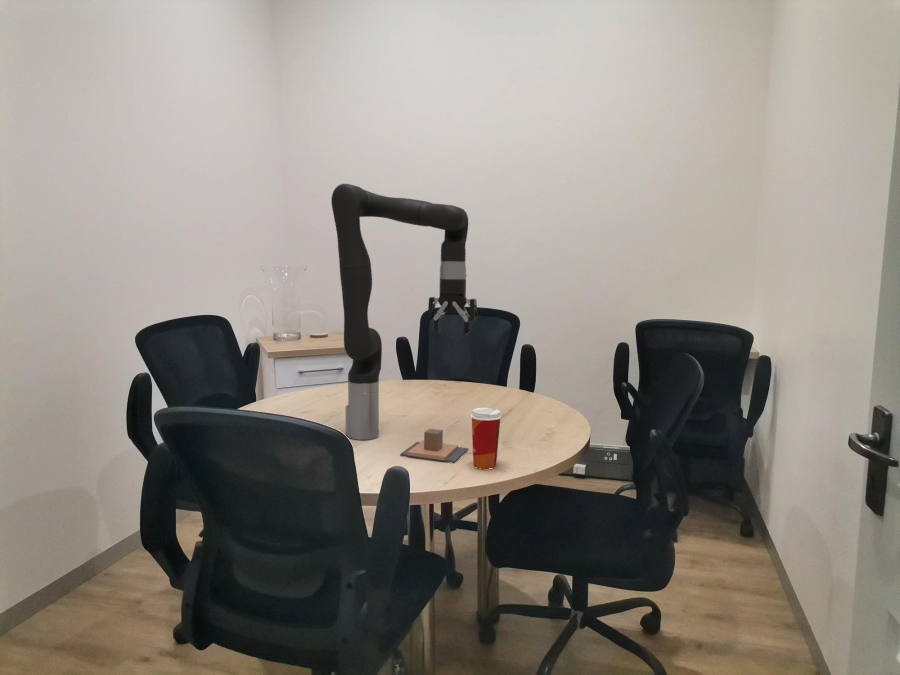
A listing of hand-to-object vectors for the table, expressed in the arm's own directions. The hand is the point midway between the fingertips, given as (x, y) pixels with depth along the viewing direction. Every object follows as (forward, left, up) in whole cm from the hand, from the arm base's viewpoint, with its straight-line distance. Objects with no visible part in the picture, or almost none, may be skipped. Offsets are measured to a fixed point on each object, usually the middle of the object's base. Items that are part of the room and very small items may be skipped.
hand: (452, 334), depth 177 cm
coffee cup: (+15, -14, -33) cm, 39 cm away
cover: (-2, -10, -32) cm, 34 cm away
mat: (-1, -9, -33) cm, 34 cm away
